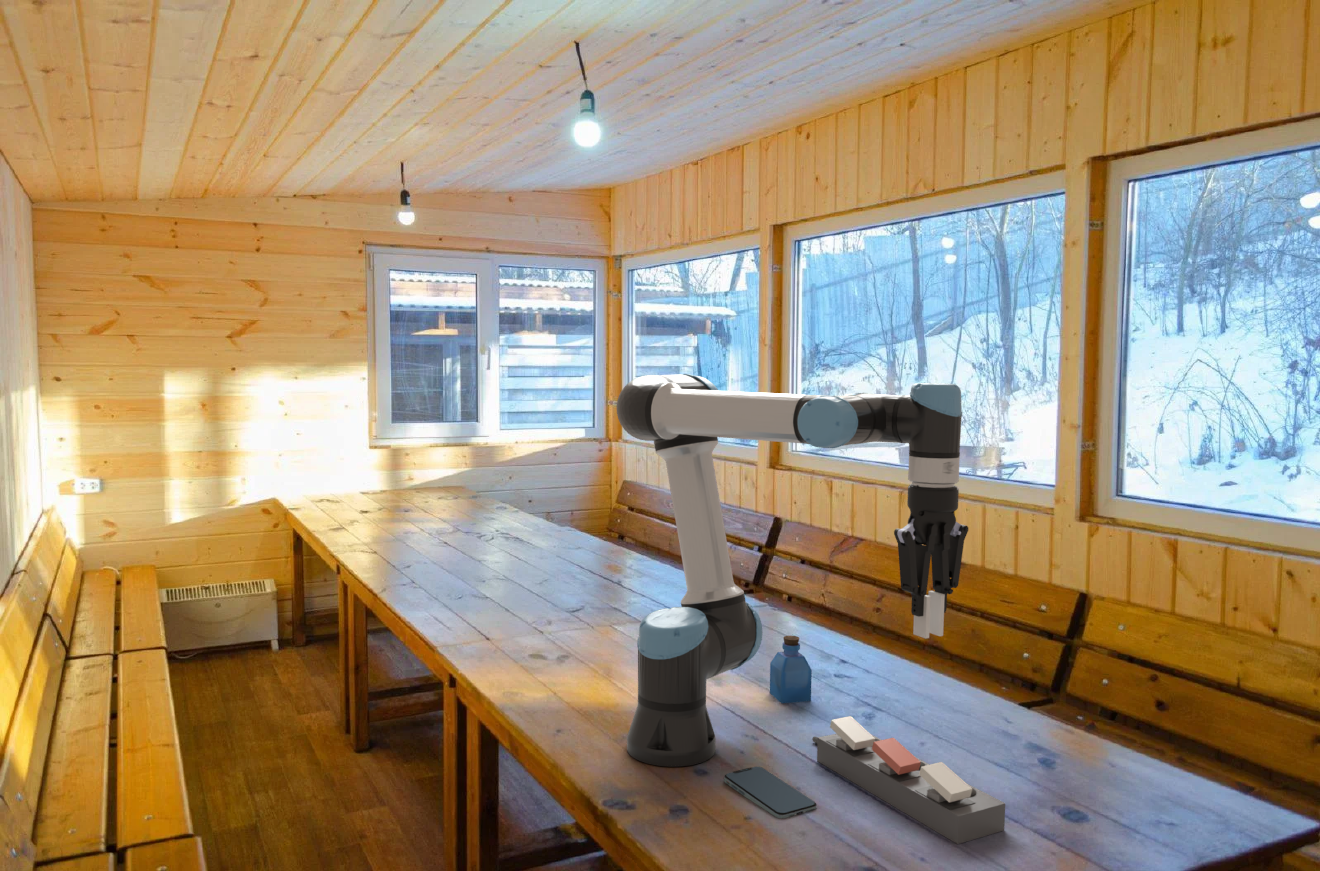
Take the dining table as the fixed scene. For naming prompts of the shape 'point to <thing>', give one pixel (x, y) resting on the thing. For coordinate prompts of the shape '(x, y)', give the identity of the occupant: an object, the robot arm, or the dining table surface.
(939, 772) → the rocker near
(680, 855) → the dining table surface
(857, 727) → the rocker far
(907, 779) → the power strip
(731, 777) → the smartphone
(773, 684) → the perfume bottle
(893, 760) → the rocker mid
